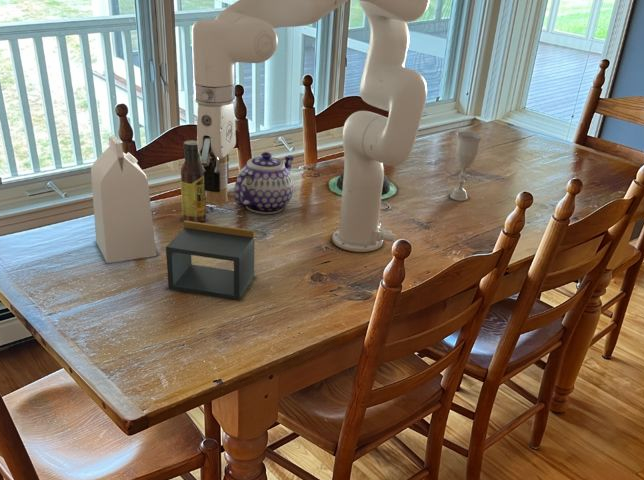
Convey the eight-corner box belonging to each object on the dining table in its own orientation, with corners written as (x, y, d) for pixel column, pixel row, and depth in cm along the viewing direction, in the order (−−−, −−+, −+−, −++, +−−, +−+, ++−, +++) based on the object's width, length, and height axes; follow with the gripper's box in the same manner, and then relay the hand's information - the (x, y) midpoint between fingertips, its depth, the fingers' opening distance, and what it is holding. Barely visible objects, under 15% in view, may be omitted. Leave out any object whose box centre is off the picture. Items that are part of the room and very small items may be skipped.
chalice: (443, 198, 208) (453, 136, 198) (448, 191, 213) (459, 129, 203) (468, 203, 206) (480, 140, 195) (473, 195, 211) (485, 133, 201)
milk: (96, 242, 174) (82, 133, 159) (143, 235, 178) (134, 129, 163) (107, 263, 165) (93, 150, 150) (156, 255, 169) (148, 145, 154)
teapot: (256, 228, 184) (257, 171, 176) (212, 212, 192) (210, 156, 183) (314, 201, 201) (317, 148, 193) (272, 187, 209) (273, 135, 200)
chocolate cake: (394, 201, 202) (323, 196, 204) (395, 210, 220) (330, 205, 222) (400, 146, 200) (328, 142, 203) (400, 160, 219) (334, 155, 221)
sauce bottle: (202, 225, 185) (199, 148, 173) (178, 222, 185) (174, 145, 174) (210, 215, 190) (207, 140, 179) (187, 212, 191) (183, 137, 180)
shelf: (254, 277, 162) (254, 230, 156) (239, 300, 153) (239, 251, 147) (186, 267, 165) (184, 220, 158) (168, 289, 156) (165, 240, 149)
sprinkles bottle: (201, 201, 147) (198, 135, 139) (217, 195, 150) (215, 130, 142) (217, 207, 144) (215, 140, 137) (233, 201, 147) (232, 135, 140)
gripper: (219, 106, 128) (221, 204, 138) (246, 84, 141) (246, 175, 151) (179, 101, 129) (184, 199, 139) (210, 80, 142) (212, 170, 153)
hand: (216, 185), depth 145 cm, fingers closed on sprinkles bottle, 4 cm apart
